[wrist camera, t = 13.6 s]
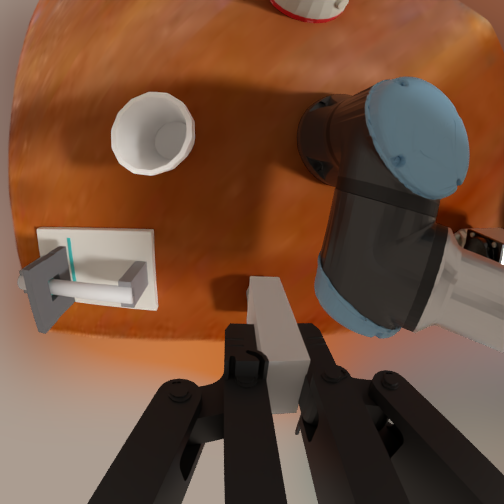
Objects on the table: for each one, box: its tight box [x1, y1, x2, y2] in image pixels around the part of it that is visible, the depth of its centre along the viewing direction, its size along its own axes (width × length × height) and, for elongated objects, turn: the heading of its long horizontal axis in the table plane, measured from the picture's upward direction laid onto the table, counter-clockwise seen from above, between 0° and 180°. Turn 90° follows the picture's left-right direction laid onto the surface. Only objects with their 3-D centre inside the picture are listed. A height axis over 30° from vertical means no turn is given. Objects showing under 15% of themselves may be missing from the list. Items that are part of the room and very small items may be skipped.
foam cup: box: [111, 92, 195, 176], centre depth 32 cm, size 10×9×13 cm
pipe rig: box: [18, 227, 158, 311], centre depth 38 cm, size 14×24×11 cm, turn 86°
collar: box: [22, 246, 75, 334], centre depth 34 cm, size 10×2×11 cm, turn 176°
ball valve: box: [454, 228, 504, 265], centre depth 39 cm, size 18×8×18 cm, turn 93°
